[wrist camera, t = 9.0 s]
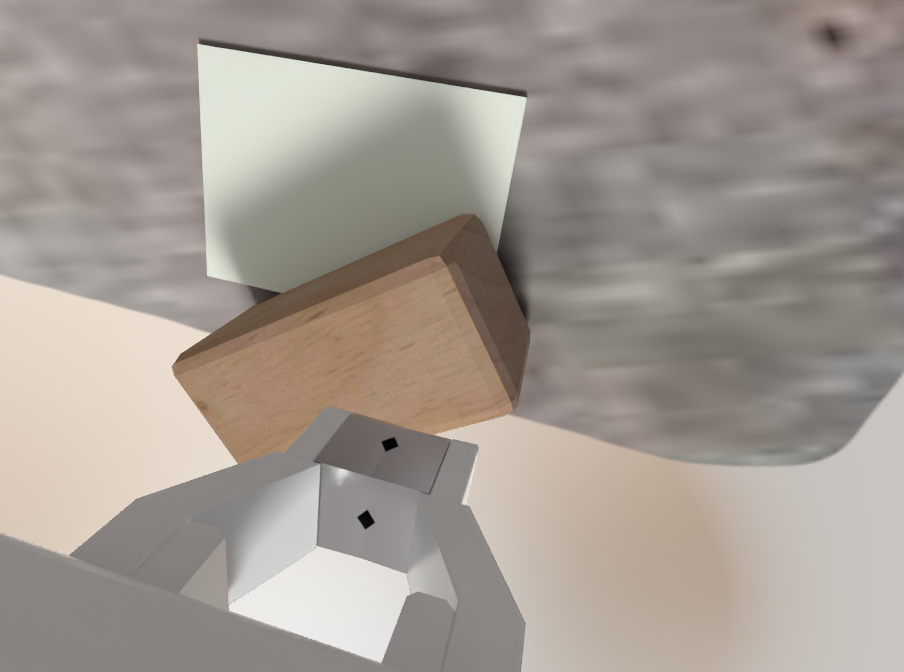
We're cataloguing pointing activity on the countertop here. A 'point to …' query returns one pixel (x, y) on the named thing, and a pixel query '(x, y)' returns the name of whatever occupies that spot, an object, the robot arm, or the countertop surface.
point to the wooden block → (369, 346)
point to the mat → (340, 163)
